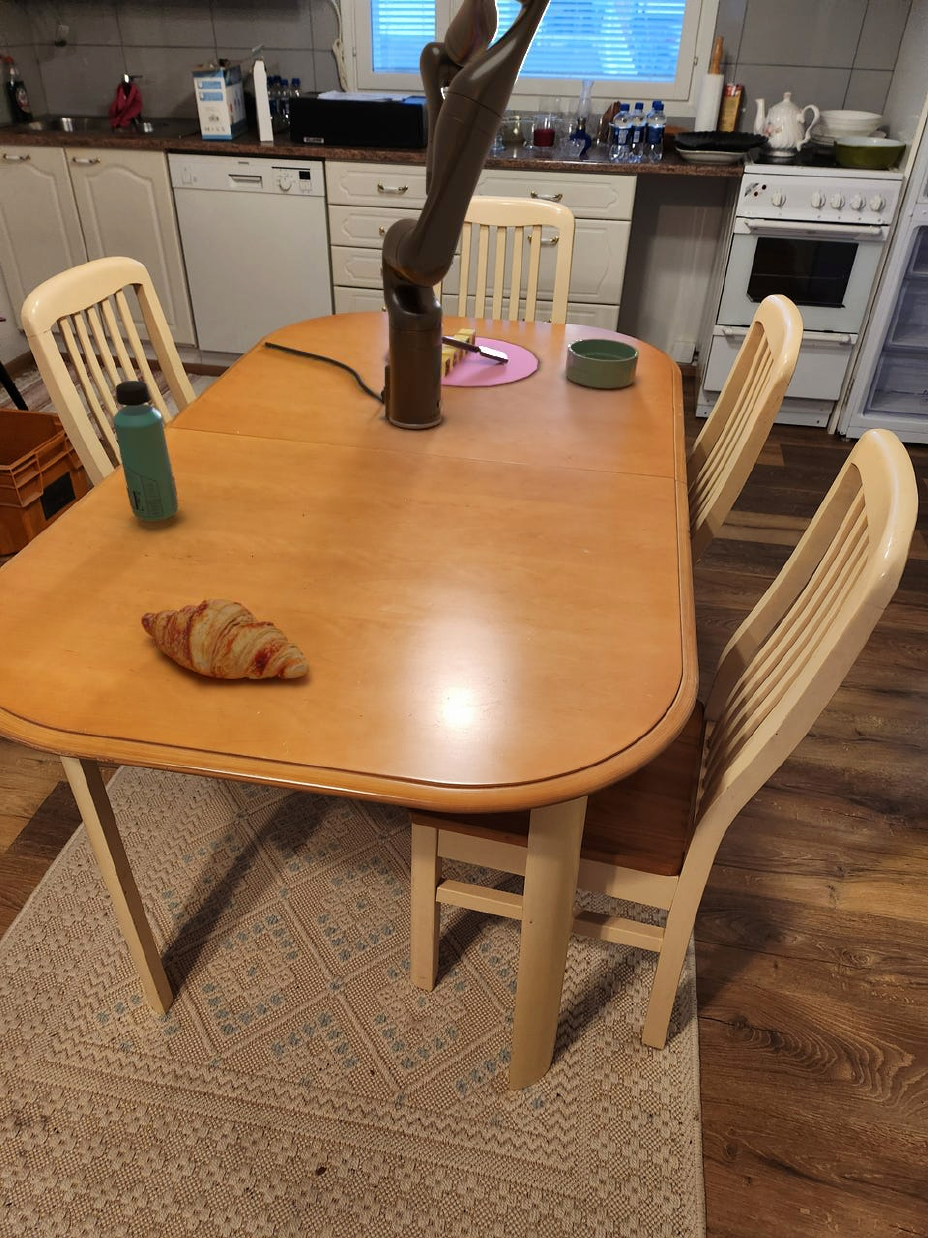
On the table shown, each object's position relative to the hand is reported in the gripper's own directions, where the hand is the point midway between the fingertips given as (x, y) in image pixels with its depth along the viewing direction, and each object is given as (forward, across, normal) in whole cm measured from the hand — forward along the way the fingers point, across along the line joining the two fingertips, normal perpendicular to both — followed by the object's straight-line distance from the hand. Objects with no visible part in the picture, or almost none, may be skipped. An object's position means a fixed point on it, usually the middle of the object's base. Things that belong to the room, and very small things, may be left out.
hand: (443, 259), depth 173 cm
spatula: (+17, +3, +5) cm, 18 cm away
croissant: (+21, +99, -43) cm, 110 cm away
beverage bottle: (+21, +64, -53) cm, 86 cm away
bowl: (+20, +14, +31) cm, 40 cm away
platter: (+20, 0, +5) cm, 21 cm away
